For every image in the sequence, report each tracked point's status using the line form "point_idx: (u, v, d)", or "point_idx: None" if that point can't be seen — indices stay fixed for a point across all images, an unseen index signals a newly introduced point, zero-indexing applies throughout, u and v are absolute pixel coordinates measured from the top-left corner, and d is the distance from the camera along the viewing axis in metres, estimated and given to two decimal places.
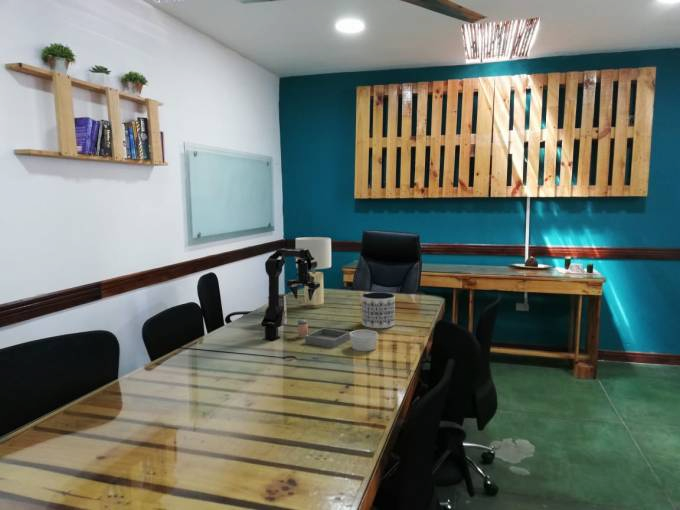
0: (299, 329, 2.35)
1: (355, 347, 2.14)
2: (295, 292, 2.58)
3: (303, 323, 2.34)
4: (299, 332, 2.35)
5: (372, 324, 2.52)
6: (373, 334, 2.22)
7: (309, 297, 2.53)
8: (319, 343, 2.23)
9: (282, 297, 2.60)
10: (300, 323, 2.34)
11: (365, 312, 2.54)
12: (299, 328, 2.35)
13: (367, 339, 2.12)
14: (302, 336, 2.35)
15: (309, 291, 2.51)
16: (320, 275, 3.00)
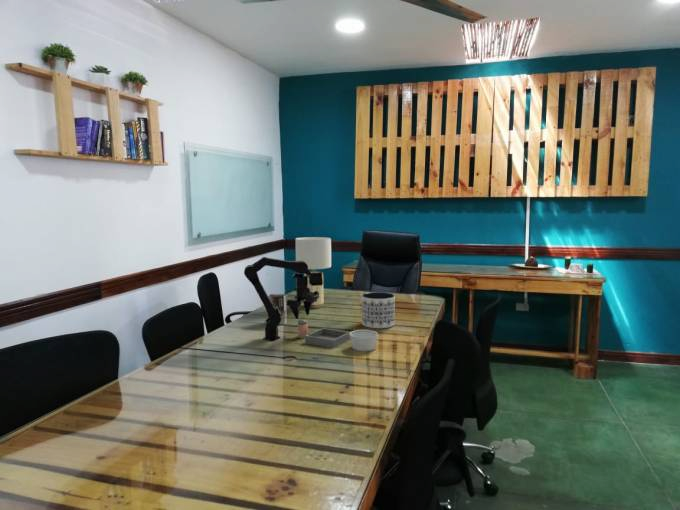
0: (299, 329, 2.35)
1: (355, 347, 2.14)
2: (306, 307, 2.40)
3: (303, 323, 2.34)
4: (299, 332, 2.35)
5: (372, 324, 2.52)
6: (373, 334, 2.22)
7: None
8: (319, 343, 2.23)
9: (282, 297, 2.60)
10: (300, 323, 2.34)
11: (365, 312, 2.54)
12: (299, 328, 2.35)
13: (367, 339, 2.12)
14: (302, 336, 2.35)
15: None
16: None
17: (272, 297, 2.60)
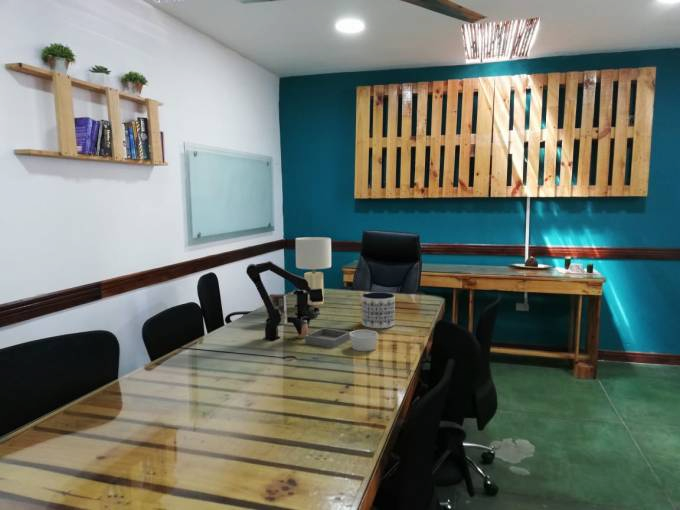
0: None
1: (355, 347, 2.14)
2: None
3: (303, 323, 2.34)
4: None
5: (372, 324, 2.52)
6: (373, 334, 2.22)
7: (297, 330, 2.35)
8: (319, 343, 2.23)
9: (282, 297, 2.60)
10: None
11: (365, 312, 2.54)
12: None
13: (367, 339, 2.12)
14: (302, 336, 2.35)
15: None
16: (320, 275, 3.00)
17: (272, 297, 2.60)
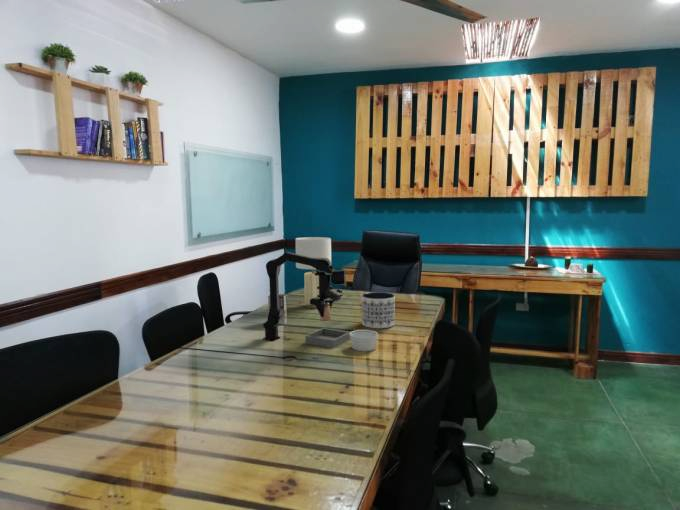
0: None
1: (355, 347, 2.14)
2: None
3: (326, 305, 2.26)
4: None
5: (372, 324, 2.52)
6: (373, 334, 2.22)
7: None
8: (319, 343, 2.23)
9: (282, 297, 2.60)
10: None
11: (365, 312, 2.54)
12: None
13: (367, 339, 2.12)
14: (325, 319, 2.27)
15: None
16: None
17: None
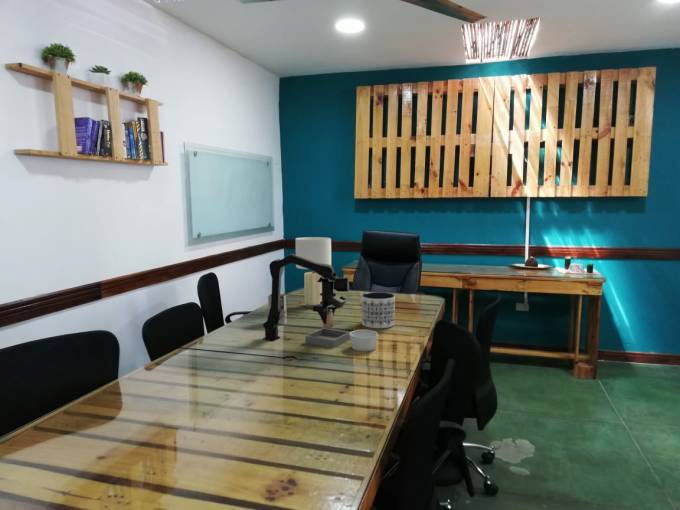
0: None
1: (355, 347, 2.14)
2: None
3: (328, 312, 2.26)
4: None
5: (372, 324, 2.52)
6: (373, 334, 2.22)
7: None
8: (319, 343, 2.23)
9: (282, 297, 2.60)
10: None
11: (365, 312, 2.54)
12: None
13: (367, 339, 2.12)
14: (327, 326, 2.26)
15: None
16: None
17: None
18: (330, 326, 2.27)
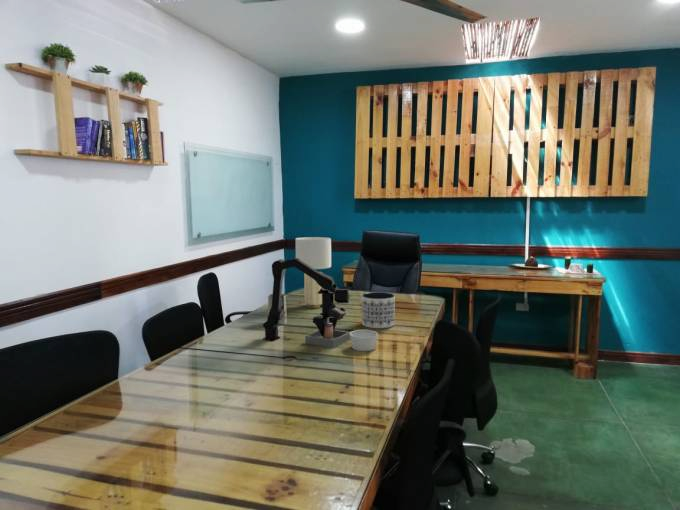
0: None
1: (355, 347, 2.14)
2: None
3: (329, 326, 2.27)
4: (324, 335, 2.27)
5: (372, 324, 2.52)
6: (373, 334, 2.22)
7: None
8: (319, 343, 2.23)
9: (282, 297, 2.60)
10: (326, 326, 2.27)
11: (365, 312, 2.54)
12: None
13: (367, 339, 2.12)
14: None
15: None
16: None
17: None
18: None
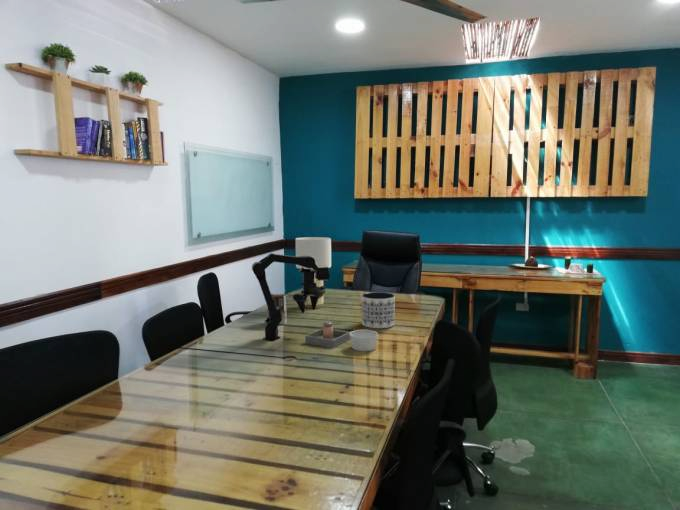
0: (324, 332, 2.27)
1: (355, 347, 2.14)
2: (312, 302, 2.42)
3: (328, 326, 2.27)
4: (324, 335, 2.27)
5: (372, 324, 2.52)
6: (373, 334, 2.22)
7: None
8: (319, 343, 2.23)
9: (282, 297, 2.60)
10: (325, 326, 2.27)
11: (365, 312, 2.54)
12: (324, 331, 2.27)
13: (367, 339, 2.12)
14: None
15: None
16: None
17: (272, 297, 2.60)
18: None
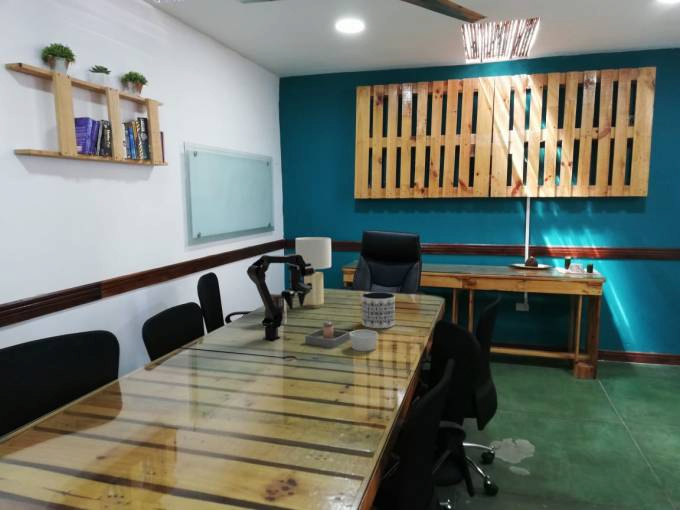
0: (324, 332, 2.27)
1: (355, 347, 2.14)
2: (300, 299, 2.49)
3: (329, 326, 2.26)
4: (324, 335, 2.27)
5: (372, 324, 2.52)
6: (373, 334, 2.22)
7: (288, 305, 2.41)
8: (319, 343, 2.23)
9: (282, 297, 2.60)
10: (326, 326, 2.27)
11: (365, 312, 2.54)
12: (324, 331, 2.27)
13: (367, 339, 2.12)
14: None
15: None
16: (320, 275, 3.00)
17: (272, 297, 2.60)
18: None
